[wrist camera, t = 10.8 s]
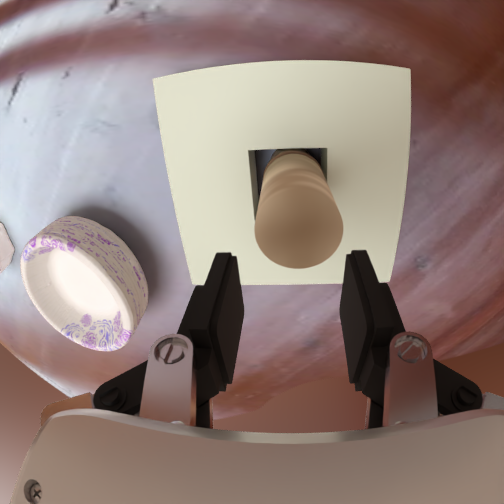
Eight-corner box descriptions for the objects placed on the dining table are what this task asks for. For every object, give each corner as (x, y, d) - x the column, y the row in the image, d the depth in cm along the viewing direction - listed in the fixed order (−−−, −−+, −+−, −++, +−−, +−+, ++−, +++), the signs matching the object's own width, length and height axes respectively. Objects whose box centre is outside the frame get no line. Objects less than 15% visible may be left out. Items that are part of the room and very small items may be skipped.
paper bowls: (95, 175, 26) (46, 209, 19) (185, 282, 32) (162, 334, 25) (41, 242, 31) (5, 277, 25) (112, 320, 37) (89, 362, 31)
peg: (316, 139, 22) (347, 188, 12) (316, 188, 24) (340, 268, 14) (264, 140, 23) (249, 189, 13) (267, 188, 25) (256, 270, 15)
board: (391, 70, 18) (410, 68, 15) (379, 257, 27) (389, 281, 24) (172, 78, 20) (152, 79, 17) (202, 260, 30) (192, 284, 26)
